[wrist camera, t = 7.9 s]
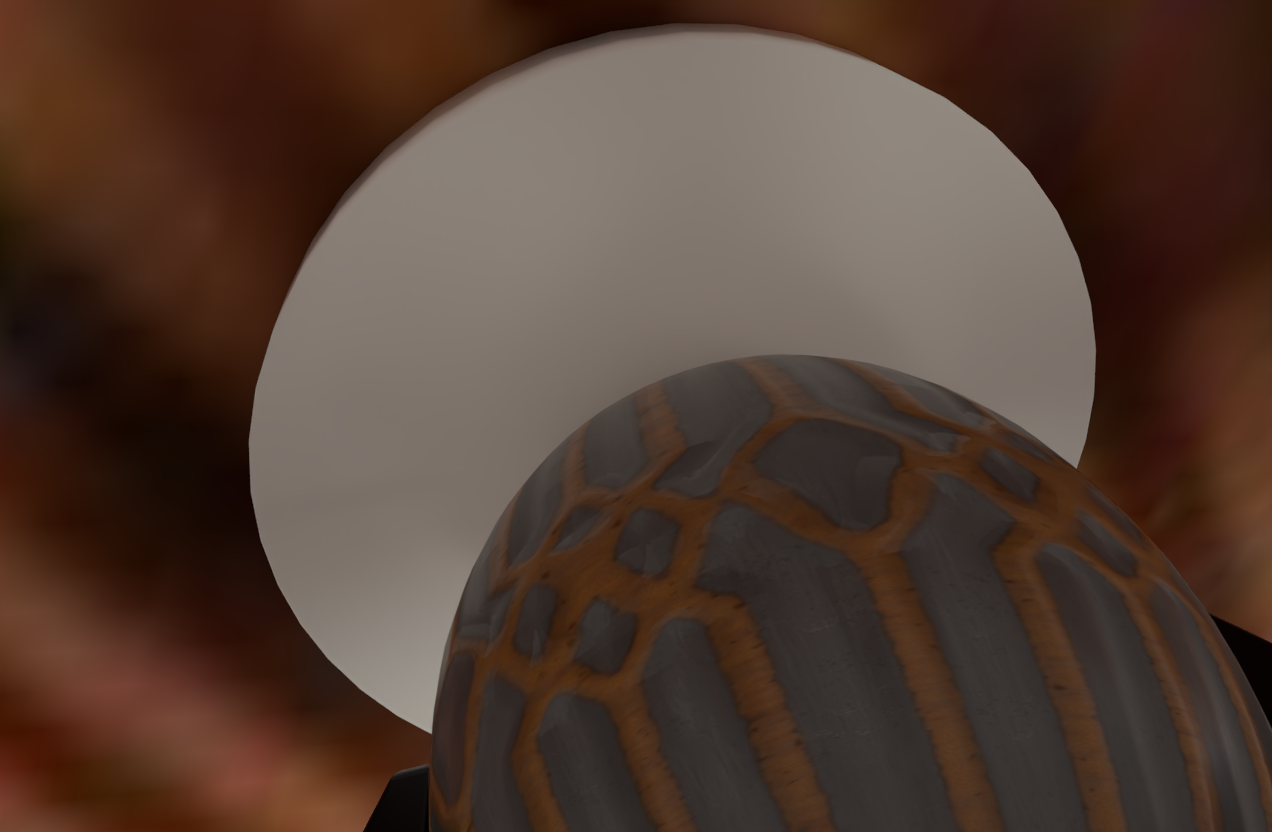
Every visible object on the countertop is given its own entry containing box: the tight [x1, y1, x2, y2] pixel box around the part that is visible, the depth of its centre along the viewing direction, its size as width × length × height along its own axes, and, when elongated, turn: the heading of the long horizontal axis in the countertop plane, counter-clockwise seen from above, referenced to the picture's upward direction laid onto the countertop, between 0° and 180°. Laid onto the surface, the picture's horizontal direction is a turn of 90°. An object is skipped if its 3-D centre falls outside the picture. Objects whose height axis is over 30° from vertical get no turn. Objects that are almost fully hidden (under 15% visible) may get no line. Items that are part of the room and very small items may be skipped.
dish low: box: [249, 23, 1096, 734], centre depth 13 cm, size 11×11×1 cm
